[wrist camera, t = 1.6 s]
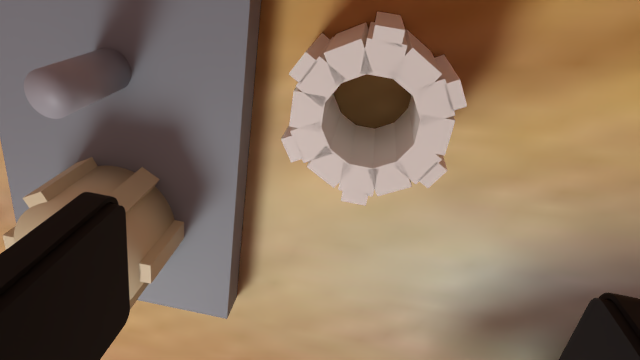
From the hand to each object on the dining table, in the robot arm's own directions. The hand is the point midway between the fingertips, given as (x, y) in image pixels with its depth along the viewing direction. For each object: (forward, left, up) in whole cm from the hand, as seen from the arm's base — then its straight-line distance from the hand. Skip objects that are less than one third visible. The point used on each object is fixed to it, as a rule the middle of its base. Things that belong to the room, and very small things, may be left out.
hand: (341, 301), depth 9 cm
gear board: (+4, -12, -15) cm, 20 cm away
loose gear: (0, 0, -15) cm, 15 cm away
